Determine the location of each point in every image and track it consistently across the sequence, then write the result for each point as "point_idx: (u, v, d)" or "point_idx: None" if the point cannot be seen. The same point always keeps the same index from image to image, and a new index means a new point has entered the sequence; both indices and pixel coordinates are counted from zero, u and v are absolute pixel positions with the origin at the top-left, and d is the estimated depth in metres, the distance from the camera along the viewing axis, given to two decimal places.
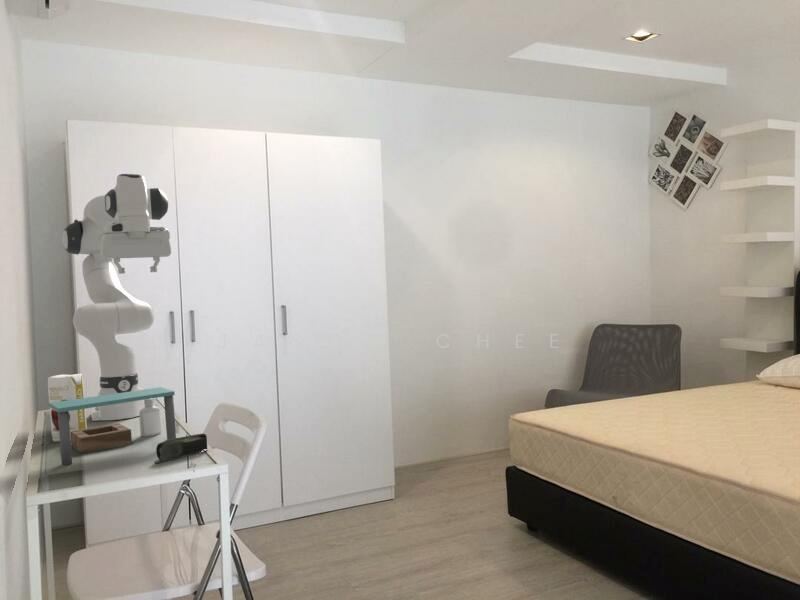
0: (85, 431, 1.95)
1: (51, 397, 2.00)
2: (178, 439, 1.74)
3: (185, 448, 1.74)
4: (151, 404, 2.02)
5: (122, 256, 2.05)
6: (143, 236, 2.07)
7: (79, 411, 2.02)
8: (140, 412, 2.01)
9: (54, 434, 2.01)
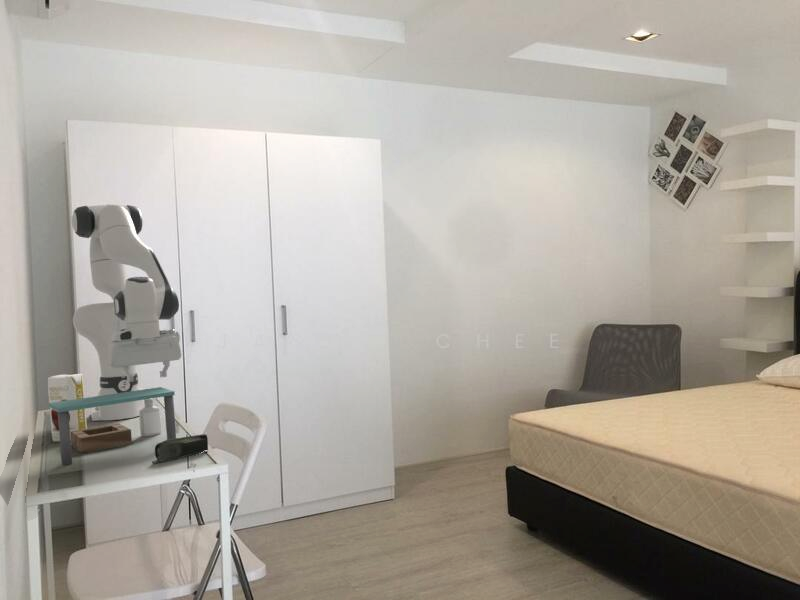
0: (85, 431, 1.95)
1: (51, 397, 2.00)
2: (177, 439, 1.73)
3: (184, 449, 1.74)
4: (151, 404, 2.02)
5: (131, 364, 1.98)
6: (152, 342, 2.01)
7: (80, 411, 2.02)
8: (140, 412, 2.01)
9: (54, 434, 2.01)
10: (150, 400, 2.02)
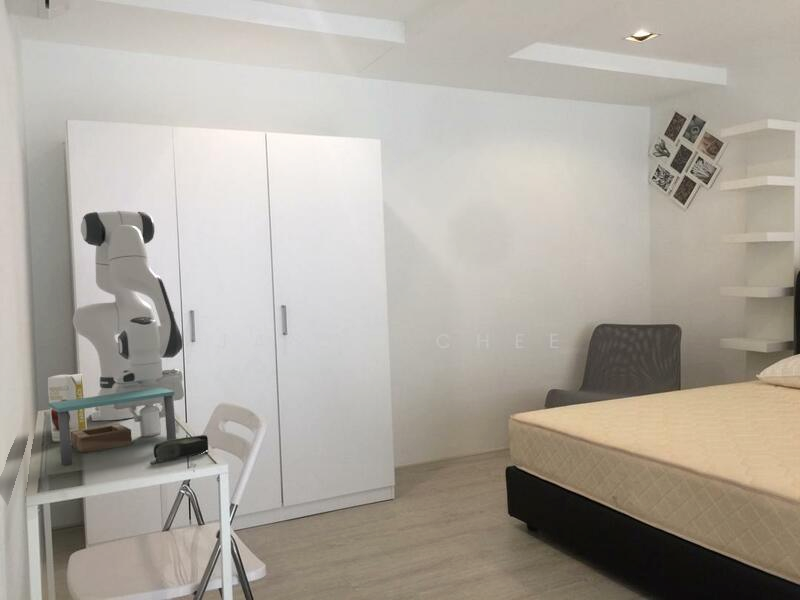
0: (85, 431, 1.95)
1: (51, 397, 2.00)
2: (176, 440, 1.73)
3: (184, 449, 1.73)
4: (151, 404, 2.02)
5: (134, 405, 1.99)
6: (155, 383, 2.01)
7: (80, 411, 2.02)
8: (140, 412, 2.01)
9: (54, 434, 2.01)
10: None
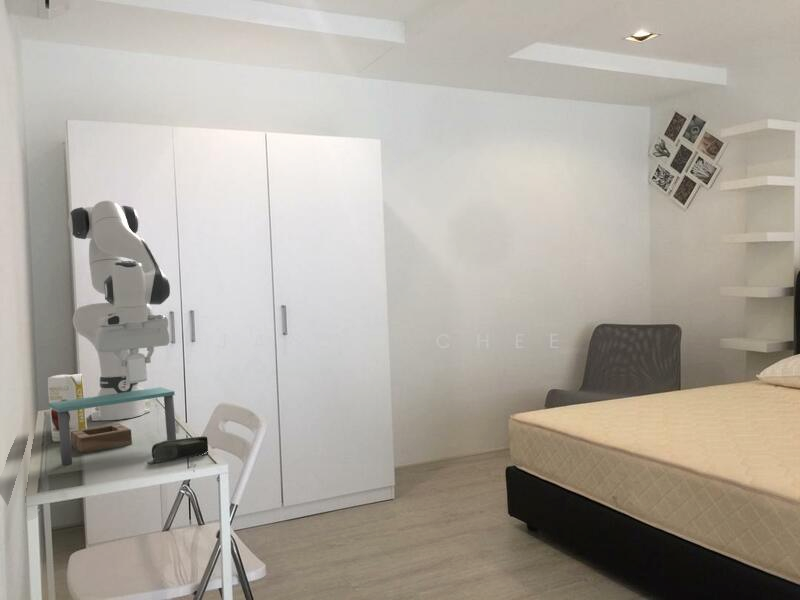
0: (85, 431, 1.95)
1: (51, 397, 2.00)
2: (174, 441, 1.72)
3: (182, 451, 1.72)
4: (136, 351, 1.99)
5: (119, 349, 1.96)
6: (140, 327, 1.99)
7: (79, 411, 2.02)
8: (125, 358, 1.98)
9: (54, 434, 2.01)
10: None
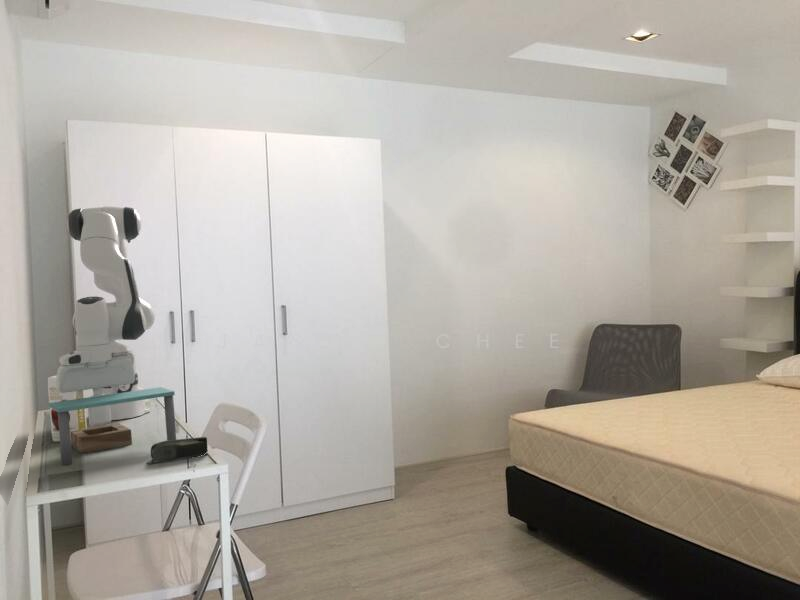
0: (85, 431, 1.95)
1: (51, 397, 2.00)
2: (173, 441, 1.72)
3: (180, 451, 1.72)
4: (100, 392, 1.93)
5: (80, 389, 1.89)
6: (103, 366, 1.92)
7: (79, 411, 2.02)
8: None
9: (54, 434, 2.01)
10: (99, 388, 1.93)
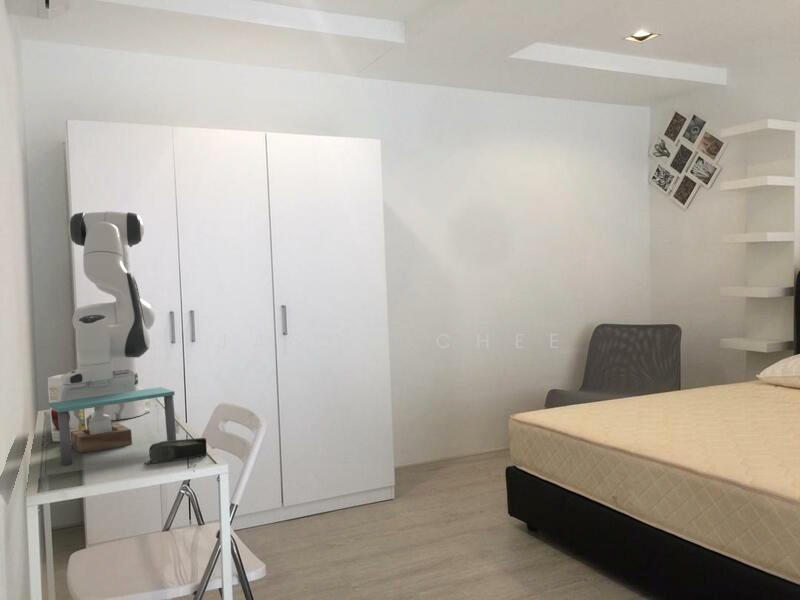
0: (85, 431, 1.95)
1: (51, 397, 2.00)
2: (171, 442, 1.71)
3: (178, 452, 1.71)
4: (101, 412, 1.93)
5: None
6: (105, 384, 1.92)
7: None
8: (90, 421, 1.92)
9: (54, 434, 2.01)
10: (100, 408, 1.93)
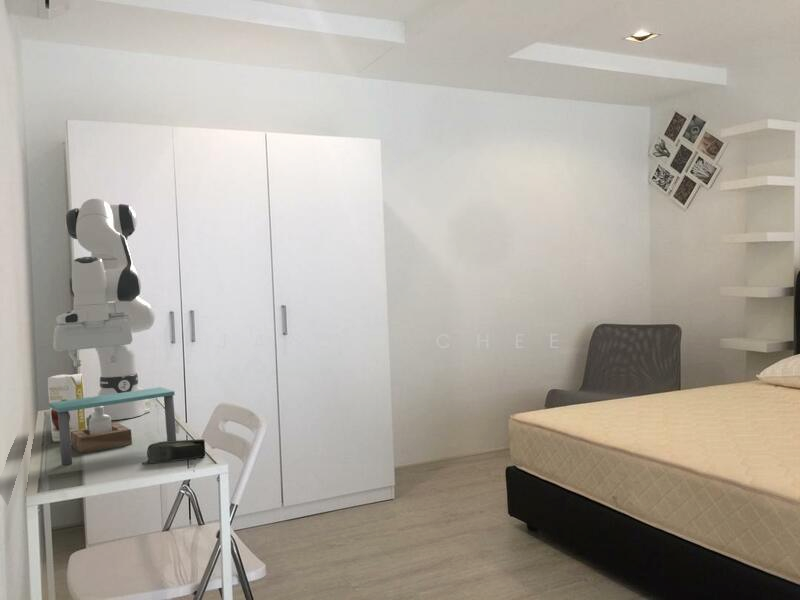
0: (85, 431, 1.95)
1: (51, 397, 2.00)
2: (169, 442, 1.70)
3: (175, 453, 1.70)
4: (102, 412, 1.93)
5: (77, 348, 1.89)
6: (100, 326, 1.91)
7: (79, 411, 2.02)
8: (90, 421, 1.92)
9: (54, 434, 2.01)
10: (100, 408, 1.93)
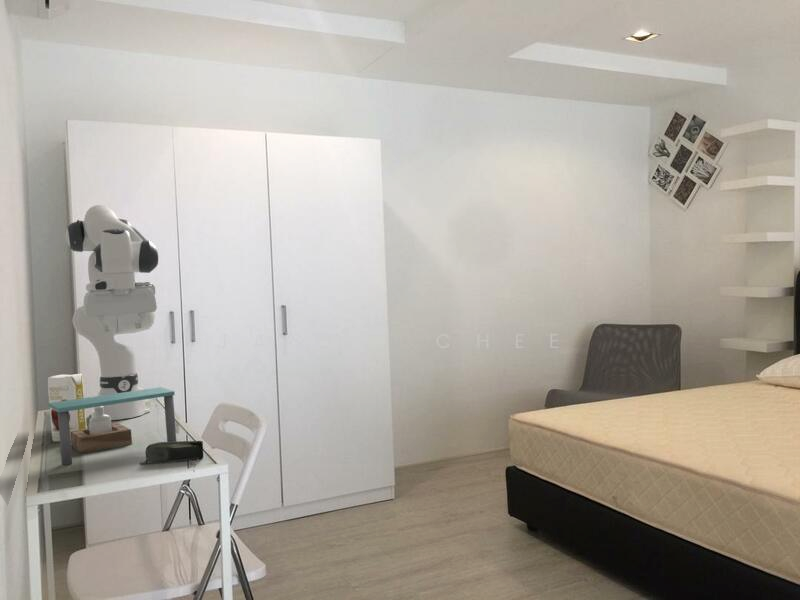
0: (85, 431, 1.95)
1: (51, 397, 2.00)
2: (167, 443, 1.70)
3: (173, 454, 1.70)
4: (101, 412, 1.93)
5: (106, 314, 2.01)
6: (127, 293, 2.03)
7: (80, 411, 2.02)
8: (90, 421, 1.92)
9: (54, 434, 2.01)
10: (100, 408, 1.93)
